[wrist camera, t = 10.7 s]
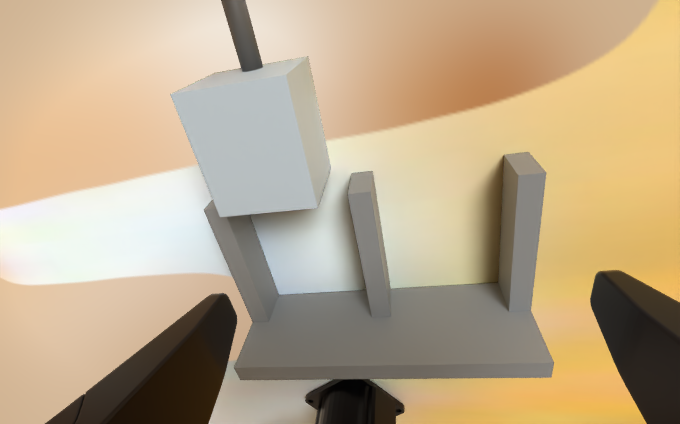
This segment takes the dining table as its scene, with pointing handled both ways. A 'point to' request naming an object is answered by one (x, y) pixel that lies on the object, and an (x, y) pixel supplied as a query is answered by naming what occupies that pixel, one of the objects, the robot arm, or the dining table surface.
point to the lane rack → (396, 303)
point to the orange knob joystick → (256, 129)
